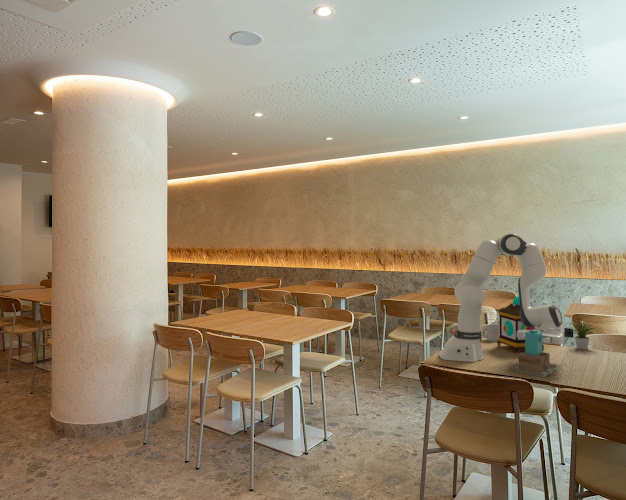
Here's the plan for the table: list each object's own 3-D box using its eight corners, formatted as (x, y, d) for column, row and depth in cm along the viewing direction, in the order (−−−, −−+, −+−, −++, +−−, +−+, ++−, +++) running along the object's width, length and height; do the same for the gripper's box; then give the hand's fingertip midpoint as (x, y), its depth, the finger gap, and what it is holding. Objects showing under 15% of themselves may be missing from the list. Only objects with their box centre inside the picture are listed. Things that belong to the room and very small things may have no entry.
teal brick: (537, 355, 206) (537, 332, 205) (525, 353, 210) (525, 330, 209) (542, 353, 209) (542, 330, 209) (530, 351, 213) (530, 328, 213)
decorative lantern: (493, 345, 258) (492, 294, 257) (523, 343, 262) (523, 292, 261) (515, 354, 238) (515, 298, 238) (548, 352, 242) (547, 297, 242)
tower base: (543, 377, 200) (543, 359, 200) (512, 370, 210) (512, 353, 210) (555, 370, 209) (555, 353, 209) (525, 364, 219) (525, 348, 219)
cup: (499, 342, 267) (499, 327, 266) (482, 341, 270) (481, 326, 270) (499, 339, 273) (499, 325, 273) (481, 338, 277) (481, 324, 276)
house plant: (584, 353, 238) (584, 322, 238) (561, 347, 251) (561, 318, 250) (602, 350, 244) (602, 320, 243) (578, 344, 256) (578, 316, 256)
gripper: (523, 325, 225) (510, 329, 216) (567, 331, 210) (555, 336, 201) (523, 337, 226) (510, 342, 216) (567, 344, 210) (556, 349, 201)
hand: (532, 339), depth 209 cm, fingers open, 7 cm apart
